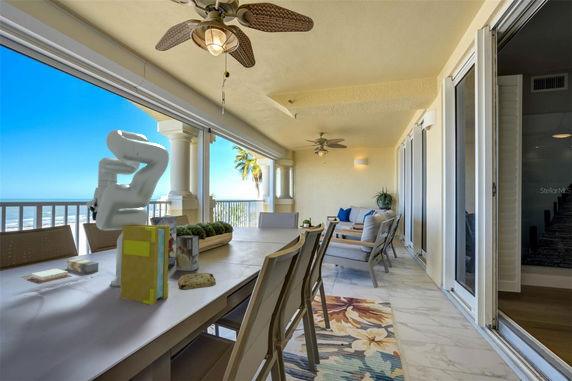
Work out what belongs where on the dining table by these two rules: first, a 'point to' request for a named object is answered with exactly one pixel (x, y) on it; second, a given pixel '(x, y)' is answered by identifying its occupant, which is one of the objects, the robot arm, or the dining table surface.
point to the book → (144, 262)
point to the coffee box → (187, 253)
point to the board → (45, 281)
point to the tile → (49, 275)
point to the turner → (82, 266)
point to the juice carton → (170, 221)
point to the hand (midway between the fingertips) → (106, 219)
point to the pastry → (196, 281)
